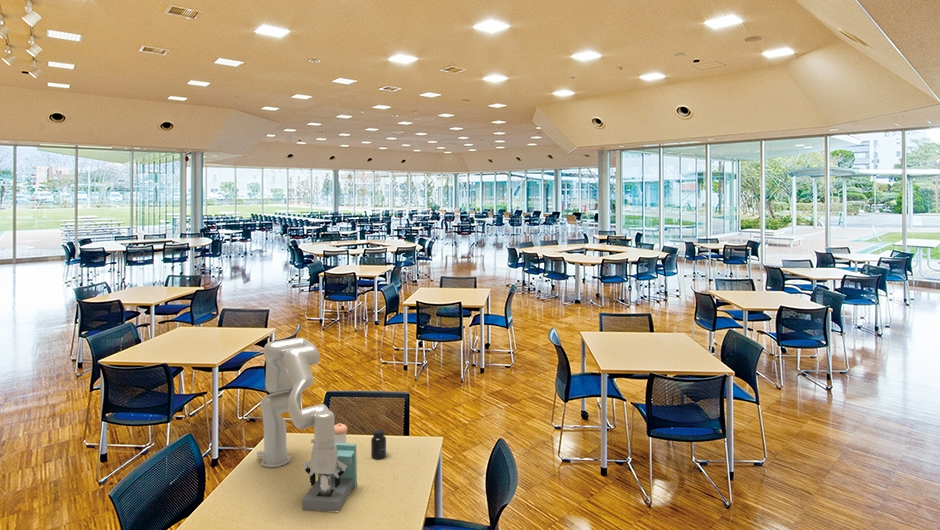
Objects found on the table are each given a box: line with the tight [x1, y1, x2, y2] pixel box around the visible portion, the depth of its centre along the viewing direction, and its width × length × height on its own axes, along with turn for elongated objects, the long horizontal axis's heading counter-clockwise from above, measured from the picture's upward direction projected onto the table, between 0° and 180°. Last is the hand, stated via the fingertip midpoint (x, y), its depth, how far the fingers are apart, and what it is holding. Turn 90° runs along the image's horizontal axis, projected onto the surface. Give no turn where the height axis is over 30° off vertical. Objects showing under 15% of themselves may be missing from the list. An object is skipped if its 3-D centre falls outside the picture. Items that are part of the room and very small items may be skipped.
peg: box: [320, 474, 331, 497], centre depth 208 cm, size 4×4×12 cm
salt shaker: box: [334, 422, 348, 443], centre depth 239 cm, size 7×7×19 cm
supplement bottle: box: [370, 429, 387, 460], centre depth 248 cm, size 7×7×12 cm
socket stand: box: [301, 442, 358, 512], centre depth 212 cm, size 16×20×18 cm
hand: (325, 485), depth 208 cm, fingers open, 9 cm apart
